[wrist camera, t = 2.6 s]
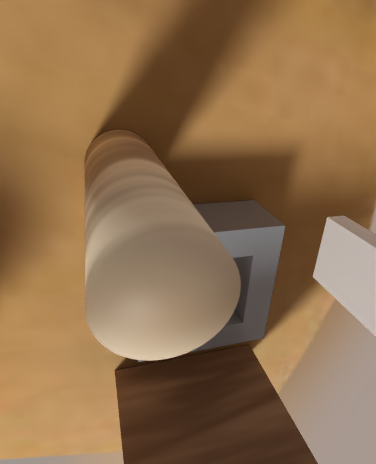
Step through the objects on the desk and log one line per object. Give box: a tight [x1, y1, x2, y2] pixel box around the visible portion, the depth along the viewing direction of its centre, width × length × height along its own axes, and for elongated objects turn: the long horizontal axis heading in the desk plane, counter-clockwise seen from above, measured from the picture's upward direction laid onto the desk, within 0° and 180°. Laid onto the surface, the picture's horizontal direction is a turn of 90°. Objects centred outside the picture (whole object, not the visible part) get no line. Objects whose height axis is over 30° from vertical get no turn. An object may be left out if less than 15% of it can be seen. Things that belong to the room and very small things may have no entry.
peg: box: [85, 129, 241, 361], centre depth 15 cm, size 4×4×14 cm
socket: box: [138, 200, 286, 362], centre depth 24 cm, size 10×10×4 cm
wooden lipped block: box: [115, 345, 318, 464], centre depth 24 cm, size 6×13×15 cm, turn 87°
